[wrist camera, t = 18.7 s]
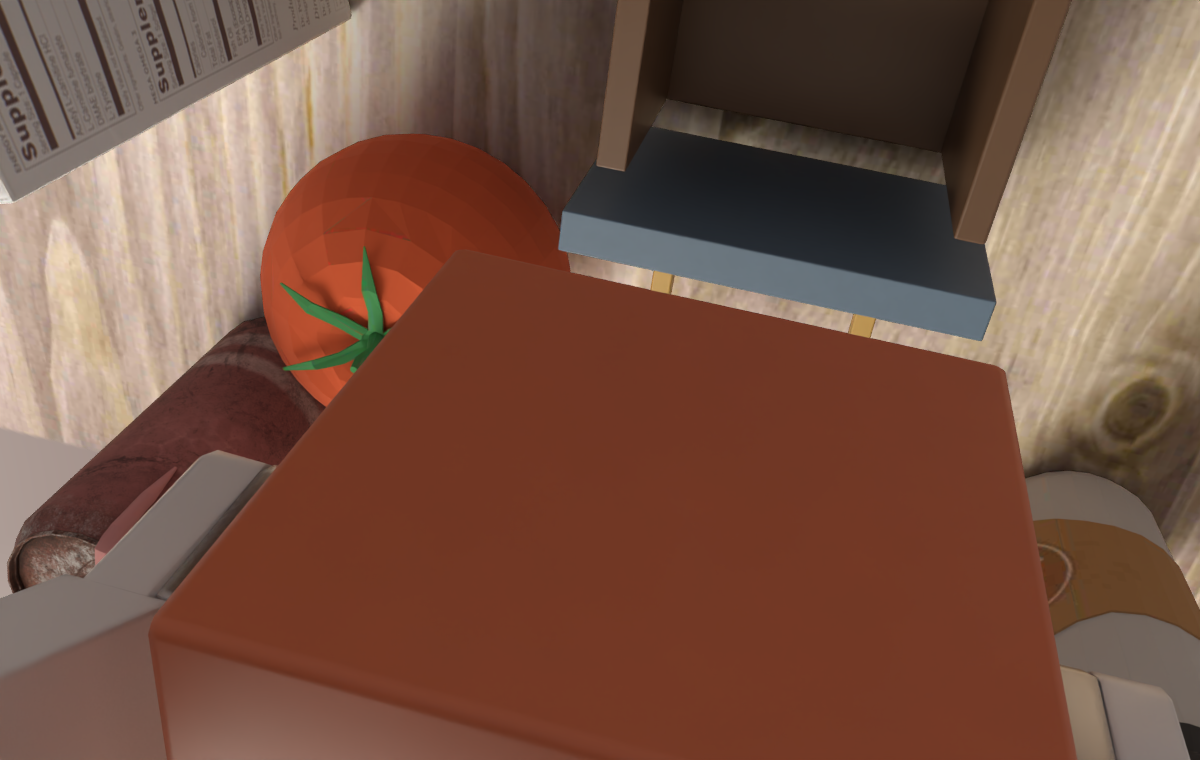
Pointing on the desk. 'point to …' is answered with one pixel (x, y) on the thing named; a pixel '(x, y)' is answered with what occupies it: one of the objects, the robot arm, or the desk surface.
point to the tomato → (386, 244)
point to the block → (625, 548)
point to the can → (168, 453)
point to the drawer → (809, 186)
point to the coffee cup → (1117, 590)
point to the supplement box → (126, 70)
